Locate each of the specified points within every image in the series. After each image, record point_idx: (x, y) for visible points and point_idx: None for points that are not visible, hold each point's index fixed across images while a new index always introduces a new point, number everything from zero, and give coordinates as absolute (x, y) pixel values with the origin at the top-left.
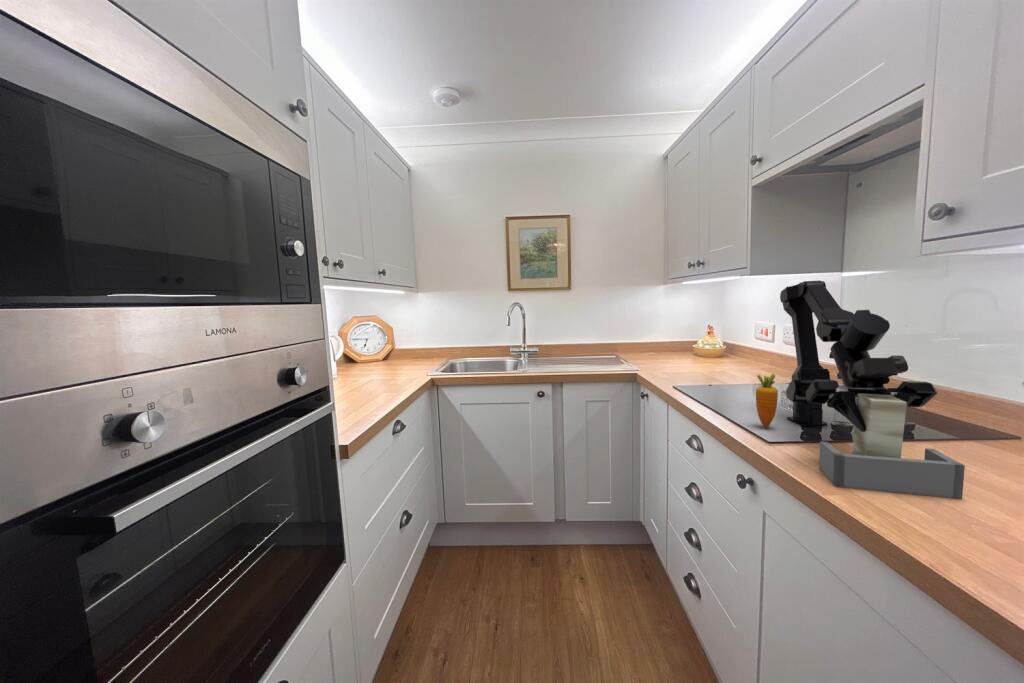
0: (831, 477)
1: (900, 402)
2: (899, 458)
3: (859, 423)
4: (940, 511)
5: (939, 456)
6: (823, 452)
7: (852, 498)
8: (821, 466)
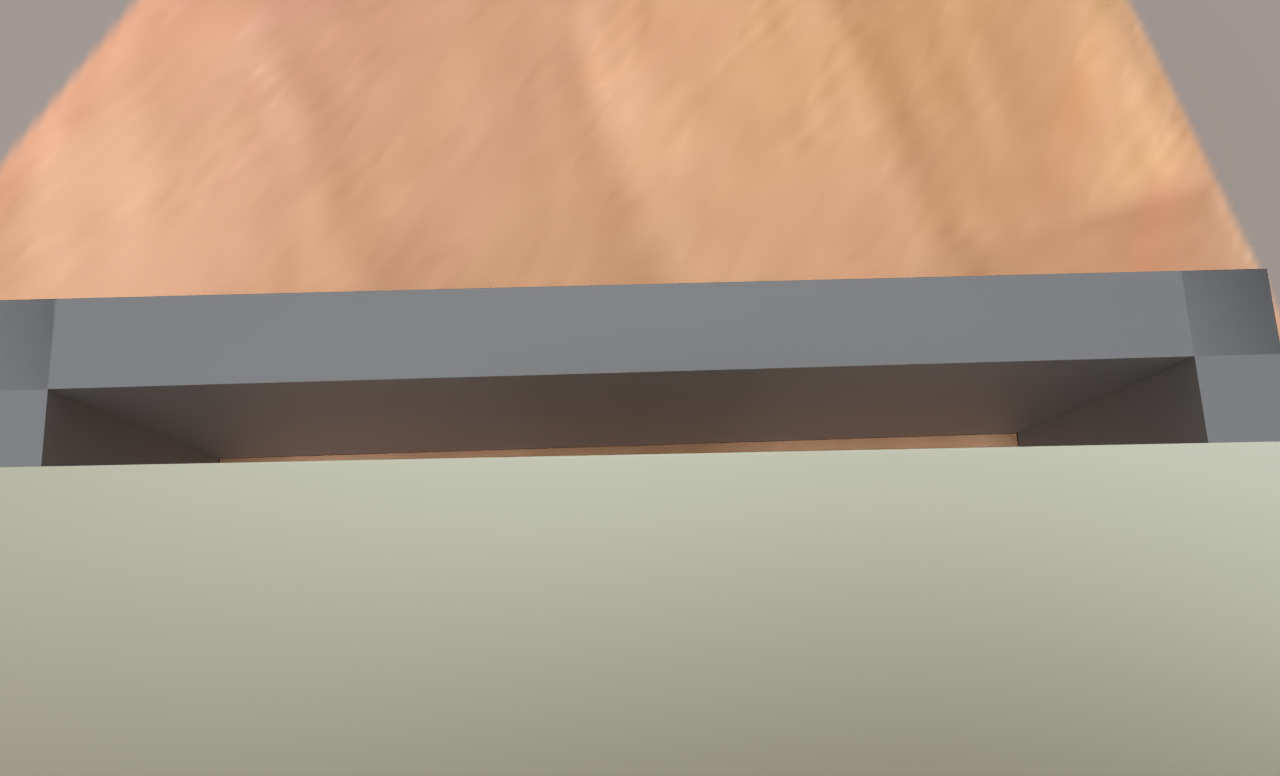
0: None
1: (225, 477)
2: (582, 356)
3: None
4: (465, 130)
5: None
6: None
7: (1006, 178)
8: None
